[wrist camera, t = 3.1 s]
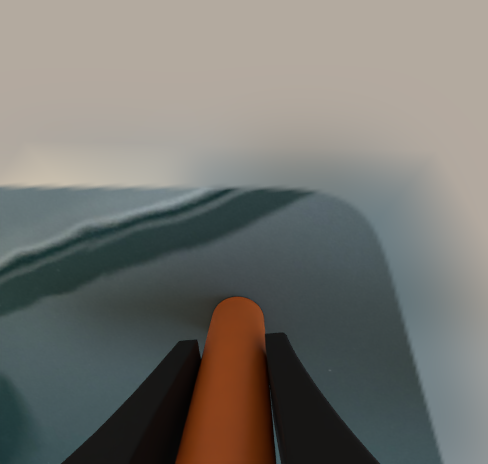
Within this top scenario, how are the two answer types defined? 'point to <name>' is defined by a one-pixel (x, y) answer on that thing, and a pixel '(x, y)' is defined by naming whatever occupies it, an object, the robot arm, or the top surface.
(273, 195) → the top surface
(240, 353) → the marker
